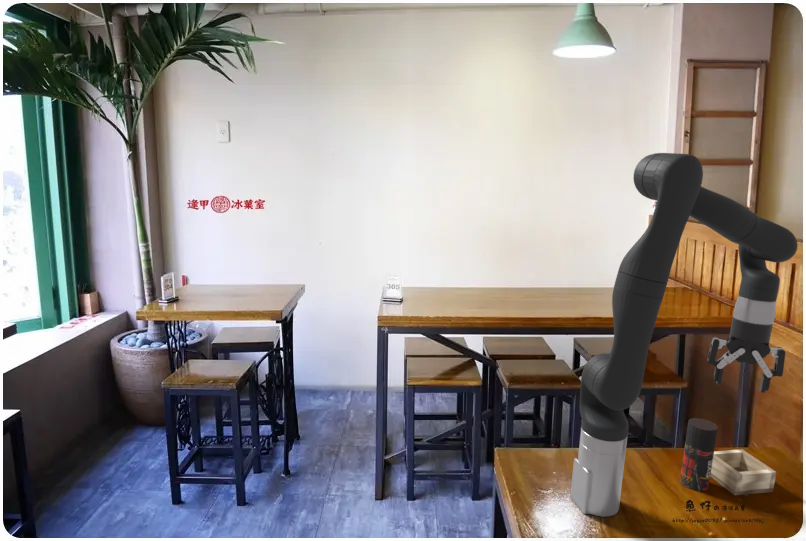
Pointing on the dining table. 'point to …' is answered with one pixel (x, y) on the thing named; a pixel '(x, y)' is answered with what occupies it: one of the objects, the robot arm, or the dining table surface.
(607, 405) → the robot arm
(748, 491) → the white wooden box
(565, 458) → the dining table surface
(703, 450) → the deodorant
